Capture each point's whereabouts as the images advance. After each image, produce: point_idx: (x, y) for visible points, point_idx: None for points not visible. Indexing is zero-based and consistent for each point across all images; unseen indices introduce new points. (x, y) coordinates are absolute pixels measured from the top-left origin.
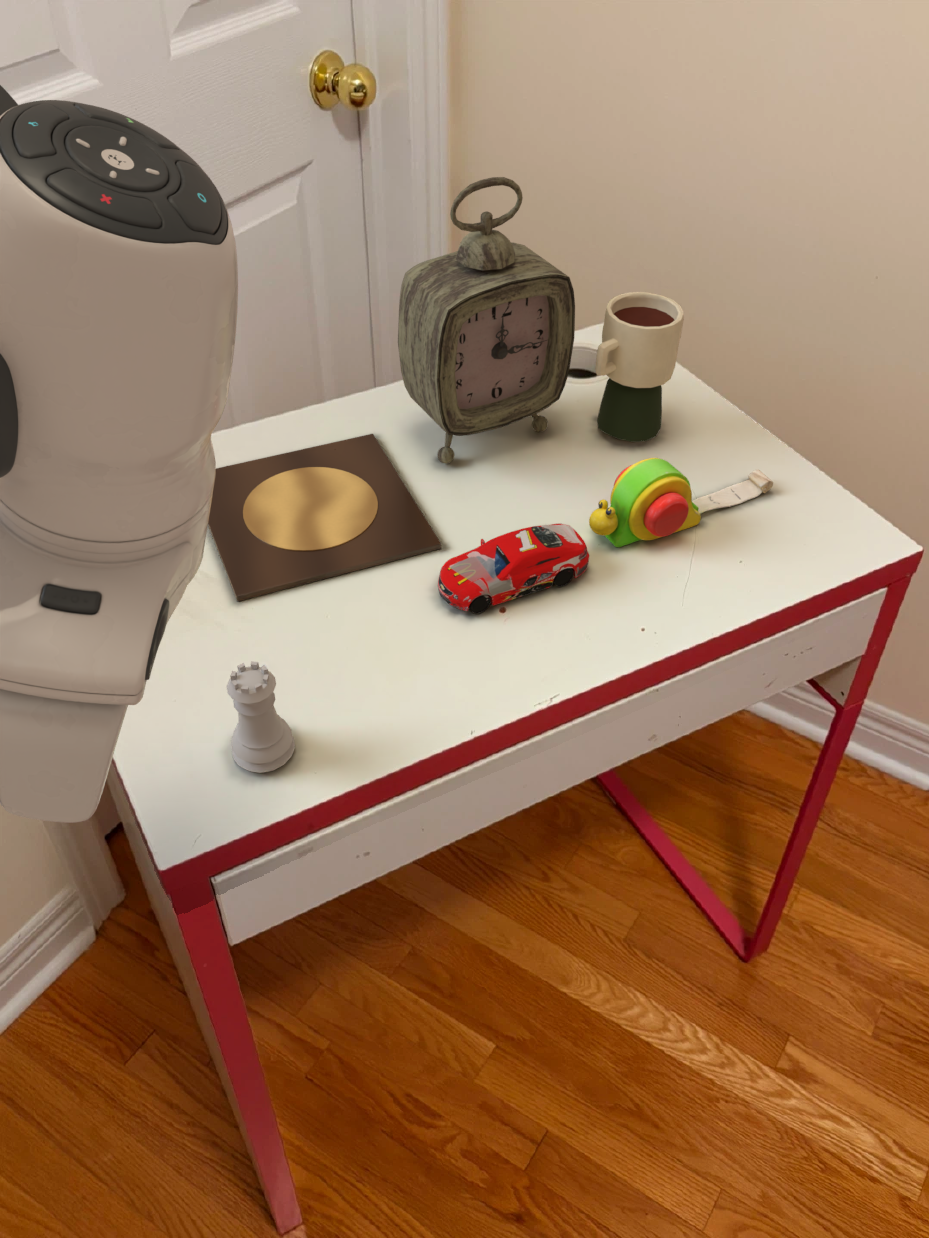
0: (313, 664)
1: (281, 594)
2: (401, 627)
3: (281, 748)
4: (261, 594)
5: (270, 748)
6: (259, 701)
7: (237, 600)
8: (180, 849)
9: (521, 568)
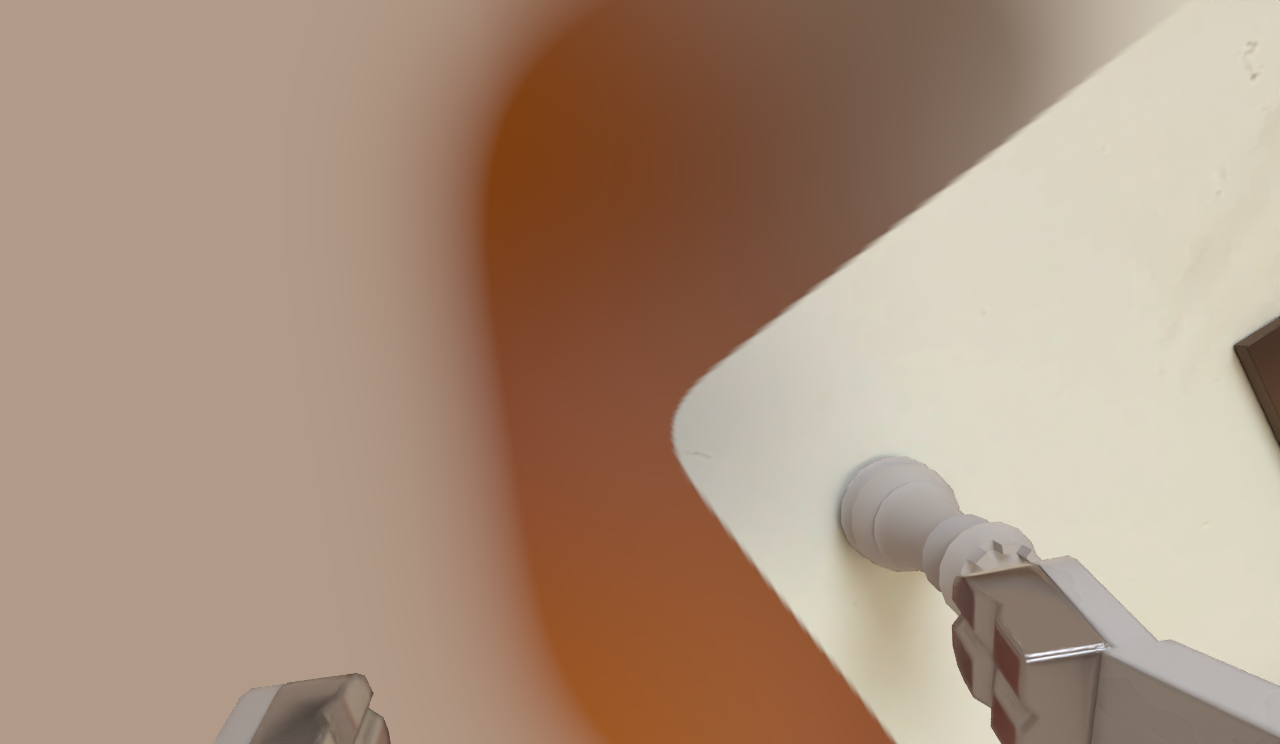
0: (1089, 531)
1: (1257, 422)
2: None
3: (884, 565)
4: (1254, 387)
5: (879, 552)
6: (947, 603)
7: (1236, 345)
8: (677, 434)
9: None
